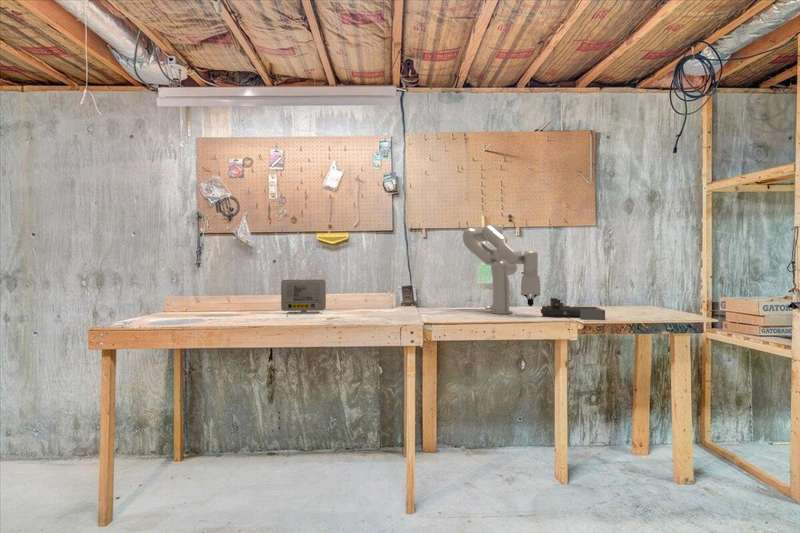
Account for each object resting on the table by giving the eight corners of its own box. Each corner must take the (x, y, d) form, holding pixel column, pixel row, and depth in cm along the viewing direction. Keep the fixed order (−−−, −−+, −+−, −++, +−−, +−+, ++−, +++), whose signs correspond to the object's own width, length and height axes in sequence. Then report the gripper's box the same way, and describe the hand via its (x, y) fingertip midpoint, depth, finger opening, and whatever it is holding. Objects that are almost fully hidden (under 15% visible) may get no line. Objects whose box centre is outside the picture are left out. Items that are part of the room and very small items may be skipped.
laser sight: (586, 318, 222) (586, 300, 221) (542, 317, 226) (542, 299, 226) (581, 316, 231) (582, 298, 231) (539, 315, 236) (539, 298, 235)
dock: (580, 319, 219) (580, 309, 219) (573, 315, 235) (573, 306, 235) (605, 319, 216) (605, 310, 216) (596, 315, 233) (596, 306, 233)
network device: (326, 312, 252) (326, 279, 251) (324, 314, 243) (324, 279, 243) (283, 312, 250) (283, 279, 250) (280, 314, 241) (280, 280, 241)
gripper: (517, 273, 229) (517, 306, 230) (545, 273, 226) (545, 307, 227) (516, 273, 237) (516, 305, 237) (543, 273, 234) (543, 305, 234)
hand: (530, 306), depth 232 cm, fingers closed
